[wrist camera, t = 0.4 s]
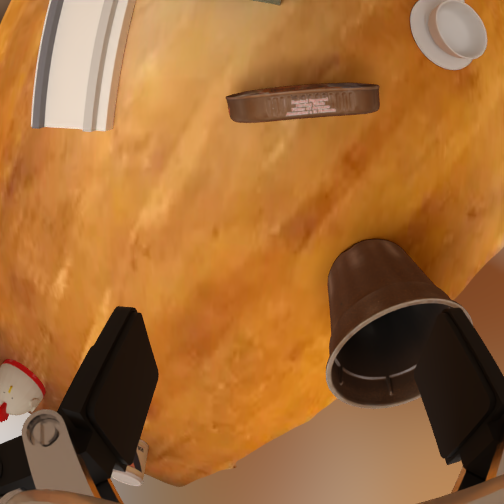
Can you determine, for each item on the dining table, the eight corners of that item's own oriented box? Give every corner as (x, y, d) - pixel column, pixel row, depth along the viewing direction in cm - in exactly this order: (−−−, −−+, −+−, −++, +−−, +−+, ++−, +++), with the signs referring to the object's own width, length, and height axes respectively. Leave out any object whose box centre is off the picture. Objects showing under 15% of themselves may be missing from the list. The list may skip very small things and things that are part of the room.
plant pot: (309, 326, 46) (320, 417, 32) (310, 226, 39) (333, 308, 25) (409, 317, 45) (446, 396, 31) (428, 221, 38) (493, 290, 23)
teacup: (469, 81, 28) (490, 83, 24) (403, 52, 28) (421, 48, 24) (476, 17, 24) (497, 13, 20) (412, -16, 23) (428, -26, 19)
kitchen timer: (45, 379, 60) (20, 426, 47) (45, 402, 66) (25, 443, 52) (2, 350, 57) (-27, 392, 44) (6, 376, 63) (-18, 414, 50)
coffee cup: (152, 441, 68) (142, 480, 57) (150, 453, 72) (142, 489, 62) (118, 430, 67) (105, 467, 56) (119, 443, 71) (108, 478, 61)
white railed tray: (79, -61, 20) (67, -68, 17) (159, -73, 21) (151, -83, 18) (39, 123, 33) (25, 127, 30) (112, 128, 34) (100, 132, 31)
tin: (364, 82, 30) (391, 81, 23) (367, 109, 32) (394, 115, 24) (230, 93, 32) (219, 93, 24) (234, 120, 33) (224, 128, 26)
